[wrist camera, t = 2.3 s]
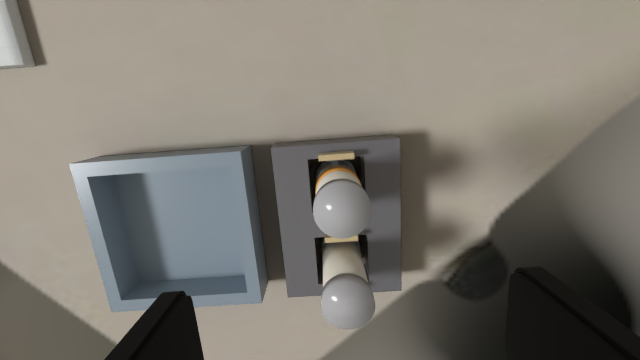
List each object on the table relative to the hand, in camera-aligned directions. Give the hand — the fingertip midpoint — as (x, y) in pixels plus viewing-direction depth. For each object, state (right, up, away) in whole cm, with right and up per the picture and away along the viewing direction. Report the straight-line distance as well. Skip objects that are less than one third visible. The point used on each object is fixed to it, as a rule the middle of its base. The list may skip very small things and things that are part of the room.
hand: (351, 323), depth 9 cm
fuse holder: (+1, +2, +16) cm, 16 cm away
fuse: (+1, -1, +17) cm, 17 cm away
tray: (-12, +1, +16) cm, 20 cm away
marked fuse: (0, +5, +15) cm, 16 cm away
